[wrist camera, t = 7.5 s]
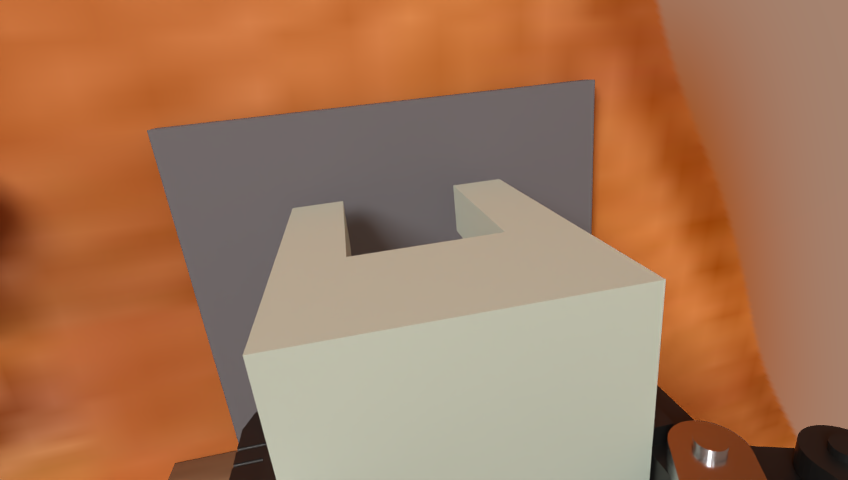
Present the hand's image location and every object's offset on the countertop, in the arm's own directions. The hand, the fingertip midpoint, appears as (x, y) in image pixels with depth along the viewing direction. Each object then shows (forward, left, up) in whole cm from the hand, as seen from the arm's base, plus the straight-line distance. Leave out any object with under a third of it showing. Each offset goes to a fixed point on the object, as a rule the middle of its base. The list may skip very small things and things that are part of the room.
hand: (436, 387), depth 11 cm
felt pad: (0, 0, -5) cm, 5 cm away
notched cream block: (0, 0, -4) cm, 4 cm away
